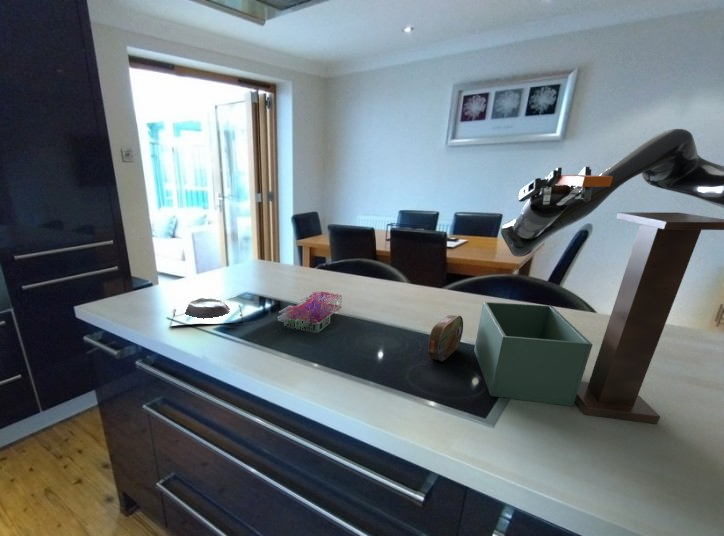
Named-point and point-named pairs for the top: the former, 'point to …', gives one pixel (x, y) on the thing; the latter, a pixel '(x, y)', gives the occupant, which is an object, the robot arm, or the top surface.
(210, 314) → the dark grey round dish
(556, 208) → the robot arm
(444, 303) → the top surface
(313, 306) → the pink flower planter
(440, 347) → the tin
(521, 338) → the bin
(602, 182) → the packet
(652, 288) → the stand
